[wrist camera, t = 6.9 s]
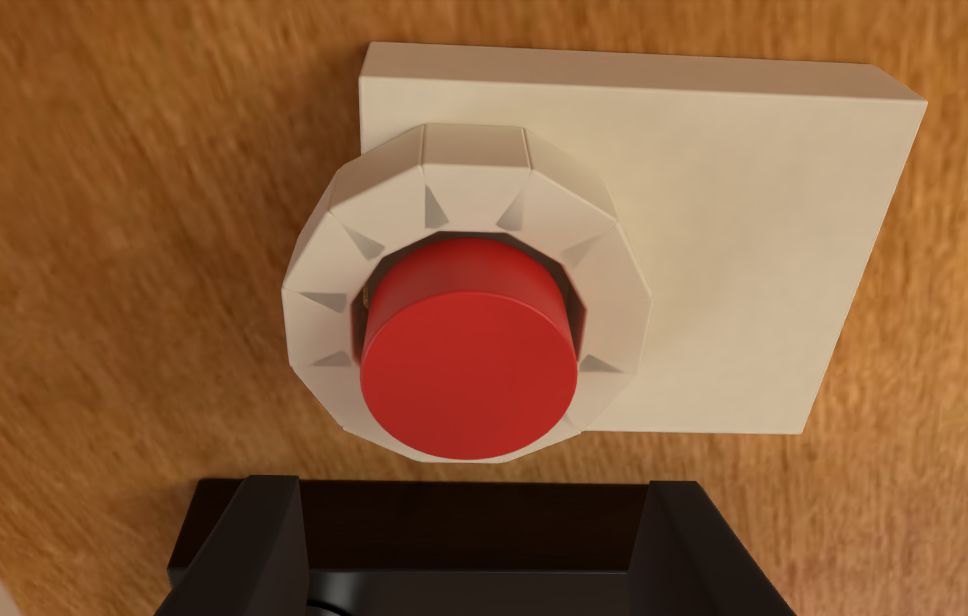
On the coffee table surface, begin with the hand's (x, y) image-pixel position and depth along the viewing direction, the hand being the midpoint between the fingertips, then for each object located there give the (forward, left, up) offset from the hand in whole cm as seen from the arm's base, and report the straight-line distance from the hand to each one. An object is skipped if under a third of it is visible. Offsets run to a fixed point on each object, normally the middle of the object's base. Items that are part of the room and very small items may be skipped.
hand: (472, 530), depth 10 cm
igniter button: (0, 0, -5) cm, 5 cm away
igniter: (+3, 0, -8) cm, 9 cm away
